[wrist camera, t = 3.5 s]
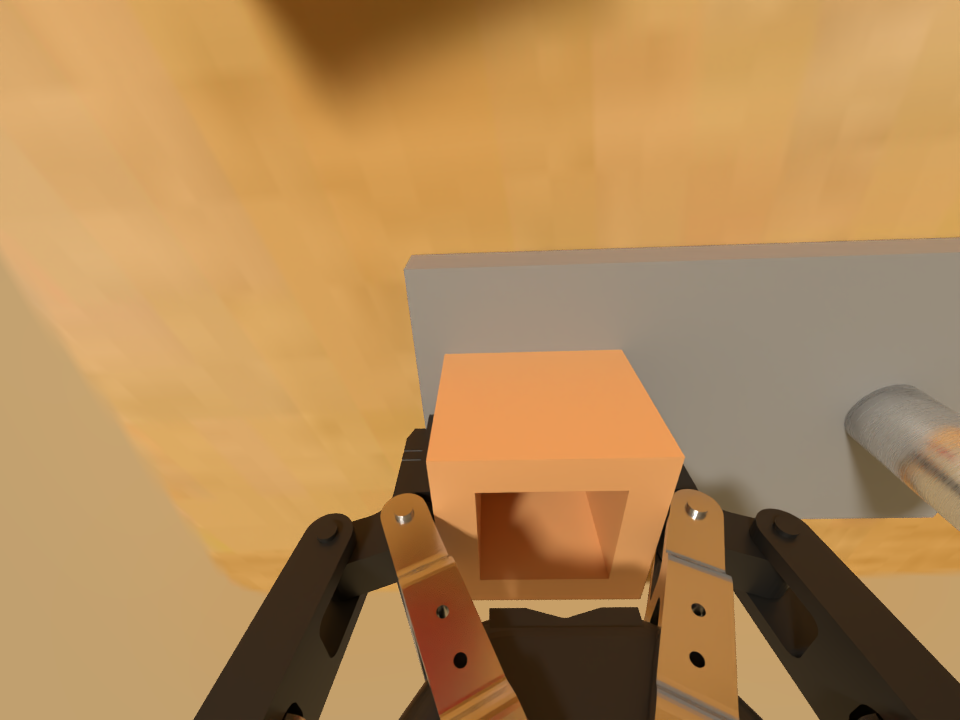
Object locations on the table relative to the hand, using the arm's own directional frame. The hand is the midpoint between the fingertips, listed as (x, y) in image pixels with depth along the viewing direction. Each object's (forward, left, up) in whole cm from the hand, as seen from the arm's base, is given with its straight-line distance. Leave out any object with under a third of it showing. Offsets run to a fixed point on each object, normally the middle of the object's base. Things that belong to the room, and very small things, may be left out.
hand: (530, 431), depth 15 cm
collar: (0, 0, -1) cm, 1 cm away
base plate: (0, +7, -2) cm, 7 cm away
